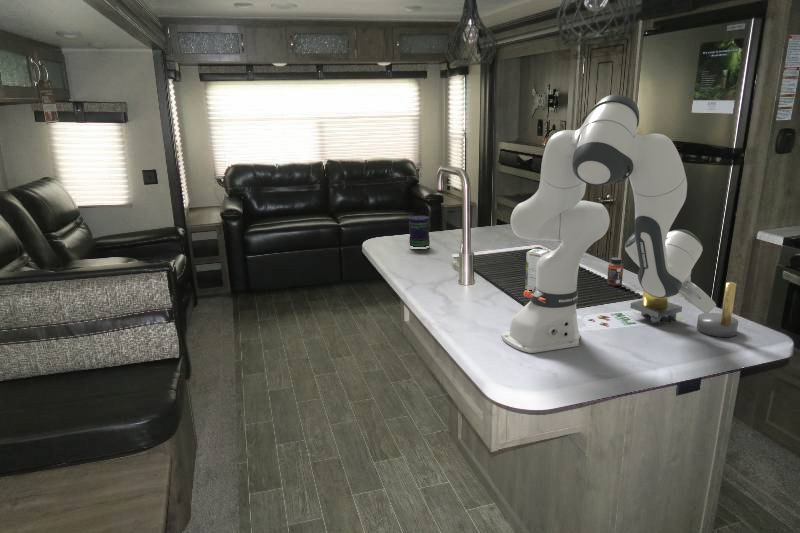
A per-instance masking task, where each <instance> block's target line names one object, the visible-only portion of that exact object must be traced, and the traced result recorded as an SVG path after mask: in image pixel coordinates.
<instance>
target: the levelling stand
mask: <svg viewBox="0 0 800 533" xmlns="http://www.w3.org/2000/svg"><path fill="white" fill-rule="evenodd" d="M642 290H643V289H642ZM630 309H633V310H635V311H638V312H640V316H641V317H644V318H646V317H647V318H648V317H650V316H651V317H650V326H653V327H657V326H658V327H659V326H660V323H661V322H660V321H661V318H664V317H666V321H669V322H676V321H677V314H678V313H681V312H682V310H683V306H681V305H679V304H676V303H672V302H670V301H669V297H666V298H657V297H654V296H651V295H650V294H648V293H647V292H645V291H644V290H643V291H642V300H638V301H633V302H631V303H630Z"/></svg>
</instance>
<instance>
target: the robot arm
mask: <svg viewBox="0 0 800 533" xmlns="http://www.w3.org/2000/svg"><path fill="white" fill-rule="evenodd" d="M639 123H640V111H639V107H638V105H637V103H636V102H635V101H634V100H633V99H632V98H630V97H628V96H626V95H623V94H610V95H607V96H605V97H602V98H601V99H600V100H598V102H597V103H596V104H595V105H594V106H593V107H592V108H591V109H590V110H589V112H588V113H586V114H585V115H584V116H583V117H582V119H581V126H580V127H579V128H578V129H576V130H572V129H563V130H560V131H557V132H555V133H554V134H553V135H551V137H549V139H548V141H547V142H546V145H545V148H544V152H543V154H542V159H541V166H540V167H541V168H540V180H539V185H538V188H537V190H536V191H535V193H534V194H533V195H531V197H529V198H527V199H526V200H524V201H522V202H520V203H518V204H517V205H516V206H515V207H514V209H513V210H512V213H511V215H510V227H511V229H512V232H513V233H514V235H515V236H516V237H517V238H520V239H524V240H528V241H529V240H530V241H537V242H540V241H541V242H542V241H543V242H545V241H546V242H560V244H559V246H558V247H557V248H556V249H553V250H552V251H548V253H547V254H545V255H543V256H542V257H541V258H540V259H539V260H538V262H537V270H536V286H535V288H534V290H533V291H529V290H525V289H524V291H523V297H526V298H528V299H529V300H530V301H529V302H528V303H527V304H525V305H524V307H522V308H521V309H520V310H519V311H518V312H517V313H516V314H515V315H513V317H512V318H511V321H510V326H509V330H507V331H504V332H502V333H501V340H502V341H503V342H505V343H506V344H508V345H509V346H510V347H512V348H514V349H516V350H518V351H521V352H524V353H530V354H536V353H541V352H548V351H554V350H560V349H561V350H562V349H569V348H575V347H578V346H580V338H581V335H580V330H579V326H578V316H577V315H578V314H577V313H578V312H577V303H578V302H579V301H578V299H579V294H578V293H579V289H578V288H577V287H578V286H577V285H578V277H579V276H578V274H579V267H580V264H581V260H582V259H583V256H584V254H585V253H586V252H587V250H588V249H589V248H590V247H591V246H593V244H595V242H597V241H598V240H600V239H602V238H603V237H604V236H605V235H606V233H607V232H608V230H609V228H610V222H611V221H610V220H611V218H610V214H609V211H608V210H607V208H606V207H605V205H603V203H600V202H599V203H598V202H595V201H590V200H589V201H588V200H582V199H583V198H584V196H585V194H586V190H587V188H586V186H587V185H590V186H599V187H600V186H607V185H608V186H609V185H612V184H614V183H615V184H616V183H617V184H619V183H621V182H624V181H626V180H627V178H628V179H629V182H630V184H631V190H632V193H633V201H634V232H633V233H632V234H631V235H630V236H629V238H628V239H627V241H625V245H624V250H625V252H626V253H627V255H628V256H629V257H630V259H631V260H632V262H634V263H635V264H636V266H638V267H639V270H638V273H637V279H638V283H639V285H640V287H641V288H642V290H644V291H645V292H647V293H648V294H650V295H651V296H654V297H657V298H666V297H668V298H671V297H674V296H677V295H678V296H679V297H681V298H683V299H684V300H685V301H687V302H688V303H689V304H691V305H692V306H694V307H695V308H696V309H698V310H699V311H701V312H702V313H705V314H707V313H711V311H713V309H715V308H716V307H717V304H716V302H715V301H714V300H713V299H712V298H711V297H710V296H709V295H708V294H707V293H706V292H705V291H704V290H702V289H701V288H700V287H699V285H696V284H695V283H694V282H692V280H691V279H692V277H691V275H692V270H693V268H694V266H695V264H696V263H697V261H698V260H699V258H700V257H701V256H702V252H703V251H704V247H703V244H702V242H701V240H700V239H699V238H698V237H697V236H696V234H694V233H693V232H691V231H690V230H687V229H673V230H670V229H671V227H672V225H673V223H674V222H675V219H676V218H677V216H678V214H679V212H680V211H681V209H682V207H683V206H684V203H685V201H686V199H687V194H688V193H687V192H688V191H687V190H688V180H687V176H686V175H687V174H686V171H685V167H684V164H683V160H682V158H681V156H680V154H679V152H678V149H677V147H676V146H675V144H674V142H673V141H672V140H671V138H670V137H668V136H666V135H665V134H663V133H662V134H661V133H648V134H644V135H641V134H638V133H636V132H637V129H638V127H639V125H640V124H639Z"/></svg>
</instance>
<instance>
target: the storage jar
mask: <svg viewBox="0 0 800 533" xmlns="http://www.w3.org/2000/svg"><path fill="white" fill-rule="evenodd" d="M408 228H409V229H408V230H409V238H408V239H409V247H410V246H413V247H426V246H430V244H431V240H430V216H427V215H412V216H409V217H408Z"/></svg>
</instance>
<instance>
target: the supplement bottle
mask: <svg viewBox="0 0 800 533" xmlns="http://www.w3.org/2000/svg"><path fill="white" fill-rule="evenodd" d="M607 267H608V268H607V276H606V277H607V280H606V281H607V282H606V284H608V285H609V286H615V287H616V286H617V287H618V286H621V285H623V275H624V263H622V258H621V257H616V256H615V257H611V258H610V262H608V266H607Z"/></svg>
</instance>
